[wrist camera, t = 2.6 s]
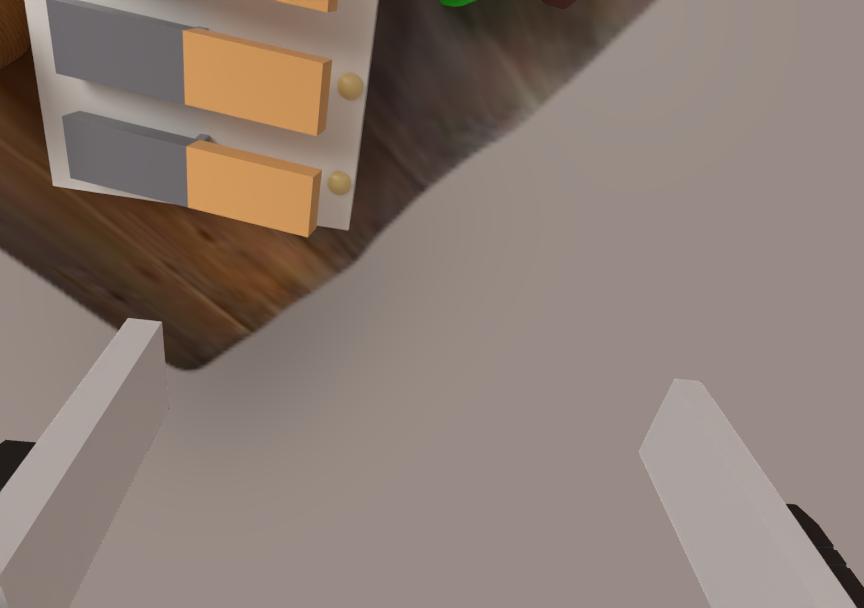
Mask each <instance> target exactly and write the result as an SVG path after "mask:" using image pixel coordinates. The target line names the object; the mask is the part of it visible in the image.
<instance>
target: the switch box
mask: <svg viewBox="0 0 864 608" xmlns="http://www.w3.org/2000/svg"><path fill="white" fill-rule="evenodd" d="M24 1H25V8H26V14H27V21H28V27H29V34H30V40H31V47H32V53H33V59H34V66H35V72H36V79H37V85H38V92H39V98H40V105H41V111H42V117H43V124H44V130H45V137H46V143H47V150H48V156H49V163H50V169H51V175H52V182H53V186H57V187H64V188H70V189H77V190H84V191H90V192H97V193H104V194H110V195H117V196H124V197H130V198H137V199H143V200H150V201H157V202H163V203H168V202H164V201H160V200H156V199H152V198H148V197H144V196H140V195H136V194H132V193H128V192H124V191H120V190H116V189H112V188H108V187H104V186H100V185H96V184H92V183H88V182H84V181H80V180H76V179H72V178H70V172H69V164H68V157H67V150H66V143H65V136H64V128H63V121H62V116H63V115H67V114H70V113H74V112H77V111H83V112H87V113H91V114H95V115H100V116H104V117H108V118H112V119H116V120H120V121H124V122H128V123H132V124H136V125H141V126H145V127H149V128H153V129H157V130H161V131H165V132H169V133H173V134H178V135H182V136H186V137H190V138H194V139H198V140H202V141H206V142H210V143H215V144H219V145H223V146H227V147H231V148H235V149H239V150H243V151H247V152H252V153H256V154H260V155H264V156H268V157H272V158H276V159H280V160H284V161H288V162H293V163H297V164H301V165H305V166H309V167H313V168H317V169H321V170H322V174H321V184H320V195H319V206H318V216H317V226H323V227H329V228H336V229H343V230H349V225H350V219H351V213H352V207H353V201H354V194H355V186H356V178H357V170H358V162H359V155H360V147H361V139H362V131H363V123H364V115H365V107H366V99H367V92H368V84H369V76H370V68H371V60H372V52H373V44H374V36H375V29H376V21H377V13H378V5H379V0H338V4H337V11H333V12H328V13H327V12H323V11H318V10H314V9H310V8H305V7H301V6H297V5H292V4H288V3H284V2H279V1H275V0H80V1H85V2H89V3H93V4H98V5H102V6H106V7H110V8H115V9H119V10H123V11H127V12H132V13H136V14H140V15H145V16H149V17H153V18H157V19H162V20H166V21H170V22H174V23H179V24H183V25H187V26H192V27H196V28H200V29H204V30H209V31H213V32H217V33H221V34H226V35H230V36H234V37H239V38H243V39H247V40H251V41H256V42H260V43H264V44H268V45H273V46H277V47H281V48H286V49H290V50H294V51H298V52H303V53H307V54H311V55H315V56H320V57H324V58H328V59H332V68H331V78H330V89H329V99H328V110H327V121H326V130H325V131H323V132H322V133H320V134H319V135H318V136H314V135H310V134H306V133H302V132H297V131H293V130H289V129H285V128H281V127H277V126H272V125H268V124H264V123H260V122H256V121H252V120H248V119H243V118H239V117H235V116H231V115H227V114H223V113H218V112H214V111H210V110H206V109H202V108H198V107H194V106H189V105H185V104H181V103H177V102H173V101H169V100H164V99H160V98H156V97H152V96H148V95H144V94H140V93H135V92H131V91H127V90H123V89H119V88H115V87H110V86H106V85H102V84H98V83H94V82H90V81H86V80H81V79H77V78H73V77H69V76H65V75H61V74H56V70H55V63H54V56H53V49H52V41H51V34H50V27H49V20H48V12H47V5H46V0H24ZM170 204H172V203H170Z"/></svg>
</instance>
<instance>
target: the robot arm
mask: <svg viewBox="0 0 864 608" xmlns="http://www.w3.org/2000/svg"><path fill="white" fill-rule="evenodd" d="M168 410H169V403H168V391H167V380H166V367H165V355H164V343H163V331H162V322H159V321H150V320H141V319H131V318H128V319H127V320H126V322H125V323H124V324H123V326H122V327H121V328H120V330H119V331H118V332H117V334H116V335H115V337H114V338H113V339H112V341H111V342H110V343H109V345H108V346H107V347H106V349H105V350H104V352H103V353H102V354H101V356H100V357H99V358H98V360H97V361H96V363H95V364H94V365H93V367H92V368H91V369H90V371H89V372H88V373H87V375H86V376H85V377H84V379H83V380H82V381H81V383H80V384H79V386H78V387H77V388H76V390H75V391H74V393H73V394H72V395H71V396H70V398H69V399H68V400H67V402H66V403H65V405H64V406H63V407H62V409H61V410H60V411H59V413H58V414H57V416H56V417H55V418H54V420H53V421H52V422H51V424H50V425H49V426H48V428H47V429H46V430H45V432H44V433H43V434H42V436H41V437H40V439H39V440H38V441H37V443H36V442H24V441H12V440H5V441H4V442H2V443H1V444H0V608H69V607H70V605H71V603H72V601H73V599H74V597H75V595H76V593H77V591H78V589H79V587H80V585H81V583H82V581H83V579H84V577H85V575H86V573H87V571H88V569H89V567H90V565H91V563H92V561H93V559H94V557H95V555H96V553H97V551H98V549H99V547H100V545H101V543H102V541H103V539H104V537H105V535H106V533H107V531H108V529H109V527H110V525H111V523H112V521H113V519H114V517H115V515H116V513H117V511H118V509H119V507H120V505H121V503H122V501H123V499H124V497H125V495H126V493H127V491H128V489H129V487H130V485H131V483H132V481H133V479H134V477H135V475H136V473H137V471H138V469H139V467H140V465H141V463H142V461H143V459H144V457H145V455H146V453H147V451H148V450H149V448H150V446H151V444H152V441H153V440H154V438H155V435H156V434H157V432H158V430H159V428H160V426H161V424H162V422H163V419H164V418H165V415H166V414H167V412H168ZM639 454H640V456H641V459H642V461H643V463H644V465H645V467H646V469H647V471H648V474H649V476H650V478H651V480H652V482H653V484H654V486H655V489H656V490H657V493H658V495H659V497H660V499H661V501H662V503H663V505H664V507H665V510H666V512H667V514H668V516H669V518H670V520H671V522H672V525H673V527H674V529H675V531H676V533H677V535H678V538H679V540H680V542H681V544H682V546H683V548H684V550H685V552H686V554H687V556H688V559H689V561H690V563H691V565H692V567H693V570H694V572H695V574H696V576H697V578H698V580H699V582H700V584H701V586H702V589H703V591H704V593H705V595H706V597H707V599H708V601H709V604H710V606H711V608H864V587H863V586H862V585H861V583H860V582H859V580H858V579H857V578H856V576H855V575H854V573H853V572H852V571H851V569H850V568H847V567H846V562H845V561H844V560H843V558H842V557H841V555H840V554H839V553H838V551H837V550H834V548H833V547H834V546H833V544H832V543H831V541H830V540H829V539H828V537H827V536H826V535H825V533H824V532H823V530H822V529H821V528H820V526H819V525H818V524H817V523H816V522H815V521H814V520H813V519H812V518H811V517H809V516H808V515H807V514H806V513H805V512H804V511H803V510H802V509H800V508H799V507H798V506H797V505H795V504H785V503H784V501H783V500H782V498H781V497H780V495H779V494H778V493H777V491H776V490H775V488H774V487H773V485H772V484H771V482H770V481H769V479H768V478H767V477H766V475H765V474H764V472H763V471H762V469H761V468H760V466H759V465H758V464H757V462H756V461H755V459H754V458H753V456H752V455H751V453H750V452H749V450H748V449H747V448H746V446H745V445H744V443H743V442H742V440H741V439H740V437H739V436H738V435H737V433H736V432H735V430H734V429H733V427H732V426H731V424H730V423H729V421H728V420H727V419H726V417H725V416H724V414H723V413H722V411H721V410H720V408H719V407H718V405H717V404H716V403H715V401H714V400H713V398H712V397H711V395H710V394H709V392H708V391H707V390H706V388H705V387H704V385H703V384H702V382H701V381H693V380H684V379H674V380H673V382H672V384H671V386H670V388H669V390H668V392H667V394H666V397H665V399H664V401H663V403H662V405H661V407H660V409H659V411H658V413H657V415H656V417H655V419H654V421H653V423H652V425H651V427H650V429H649V432H648V434H647V436H646V438H645V440H644V442H643V444H642V446H641V448H640V450H639Z"/></svg>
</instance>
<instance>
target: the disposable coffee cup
mask: <svg viewBox="0 0 864 608" xmlns="http://www.w3.org/2000/svg"><path fill="white" fill-rule="evenodd" d="M30 44H31V40H30V34H29V27H28V21H27V14H26V8H25V1H24V0H0V69H2V68H3V67H5V66H7V65H8V64H10V63H12V62H13V61H15V60H16V59H18V58H20V57H21V56H22V55H23V54H24V53H25V52H26V51H27V50H28V48H29V46H30Z"/></svg>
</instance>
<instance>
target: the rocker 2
mask: <svg viewBox="0 0 864 608" xmlns="http://www.w3.org/2000/svg"><path fill="white" fill-rule="evenodd" d="M275 1H279V2H284V3H288V4H292V5H297V6H301V7H305V8H310V9H314V10H318V11H323V12H327V13H328V12H333V11H337V4H338V0H275Z"/></svg>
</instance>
